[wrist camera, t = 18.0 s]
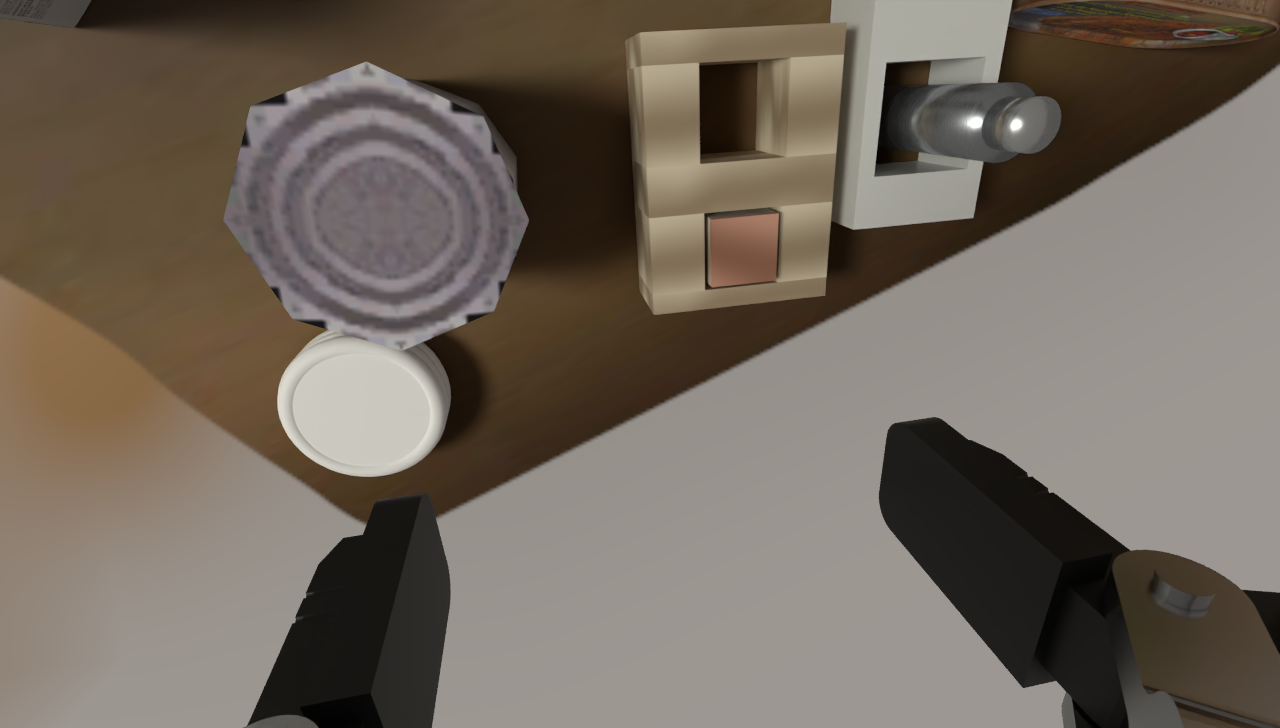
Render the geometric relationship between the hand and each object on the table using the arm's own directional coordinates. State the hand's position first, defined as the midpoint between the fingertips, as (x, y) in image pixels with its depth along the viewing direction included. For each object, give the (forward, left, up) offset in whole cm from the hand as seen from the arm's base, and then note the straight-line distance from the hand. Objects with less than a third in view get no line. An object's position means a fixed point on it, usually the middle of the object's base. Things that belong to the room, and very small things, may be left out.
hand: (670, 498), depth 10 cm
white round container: (+11, -14, -30) cm, 35 cm away
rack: (-5, +21, -30) cm, 37 cm away
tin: (-9, +34, -30) cm, 47 cm away
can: (-2, -8, -30) cm, 31 cm away
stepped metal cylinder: (-4, +21, -30) cm, 37 cm away
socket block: (-1, +10, -30) cm, 32 cm away
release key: (+3, +10, -29) cm, 31 cm away
